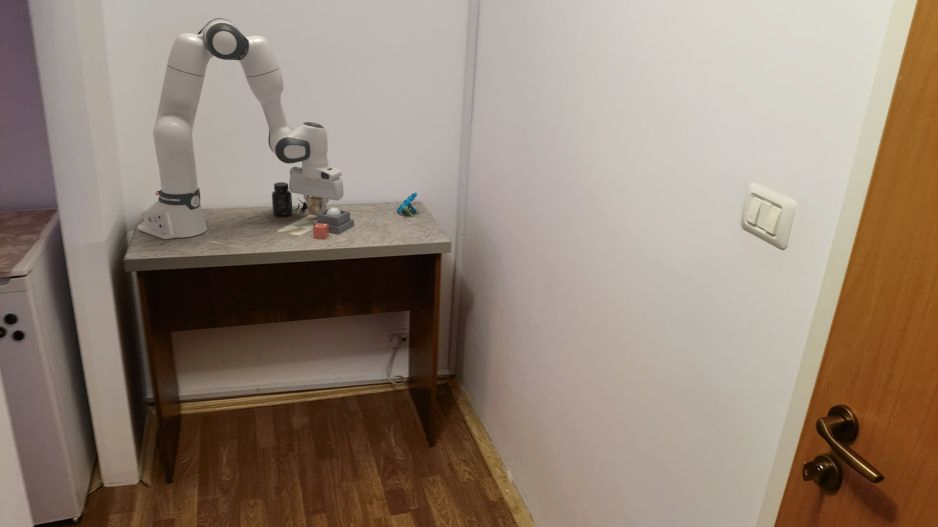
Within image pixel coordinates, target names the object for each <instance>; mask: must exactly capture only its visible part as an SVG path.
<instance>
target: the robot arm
mask: <svg viewBox="0 0 938 527" xmlns="http://www.w3.org/2000/svg"><path fill="white" fill-rule="evenodd" d="M214 57H215V58H217V59H218V60H219V59H220V60H223V61H224V60H227V61H238V62H239V63H240V65H241V67H242V71H243V73H244V76H245V78H246V81H247V84H248V86H249V88H250V90H251V92H252V93H253V96H254V97H255V99H256V100H257V101H258V102H259V104H260V106H261V108H262V110H263V115H264V116H265V119H266V123H267V126H268V140H267V141H268V142H267V144H268V146H269V148H270V150H271V152H273V154H274V155H275V156H276V157H277V159H278V160H279V161H280V162H282V163H284V164H295V163H300V162H301V166H300V167H298V166H293V167H291V168H290V170H289V184H288V188H289V189H288V190H289V191H290V192H291V194H292V193H293V194H297V195H298V194H299V195H303V199H304V202H306V204H307V207H309V206H308V198H310V197H312V196H314V197H319V198H322V201H324V202H323V204H321V205H320V209H321V210H327V204H328V202H329V201H330V200H332V201H336V202H337V201H340V200H341V199H342V198H343V197H344V184H343V180H342V178H341V177H342V170H340V169H338V168H336V167H334V166H333V165H331V164H329V159H328V155H327V154H328V150H329V145H328V144H329V142H328V133H327V130H326V129H325V127H324V126H323V125H321V124H319V123H316V122H311V121H310V122H309V121H308V122H306V121H305V122H303V123H301V125H299V126H297V128H295V129H292V128H291V127H290V126H289V123H288V122H287V119H286V115H285V113H284V112H285V111H284V110H283V109H284V108H283V106H282V101H281V100H282V99H281V98H282V97H281V96H282V93H283V91H284V86H285V85H284V79H283V74H282V70H281V67H280V65H279V62H278V59H277V57H276V55H275V52H274V50H273V47H272V46H271V44H270V43H269V40H268V39H267V38H266V37H264V36H263V35H262V36H261V35H258V34H256V35H255V34H253V35H249V36H248V35H247V36H245V35H244V34H242V32H241V31H240V30H239V28H238V26H236V25H235V23H234V22H232V21H230V20H229V19H226V18H221V17H219V18H218V17H217V18H214V19H211V20H210V21H208V22H207V23H206V24H205V25H204V26H203V27H202V28H201V29H200V30H199V31H198V32H197V34H196V33H192V32H182V33H180V34H178V35H177V36H176V37H175V39H174V42H173V44H172V47H171V49H170V52H169V56H168V59H167V63H166V68H165V74H164V78H163V84H162V88H161V94H160V98H159V104H158V108H157V115H156V118H155V119H156V120H155V123H154V127H153V130H152V135H153V136H152V137H153V141H154V142H153V144H154V148H155V149H154V150H155V154H156V159H157V164H158V171H159V180H160V187H161V189H160V190H158V191H155V192H154V193H155V196H158V199H157V201H156V202H155V203H153V204H152V205H151V206H149V207H148V208H147V209H146V210H145V211H144V215H143V217H144V218H143V220H144V221H143V222H142V223H139V224H138V226H137V227H136V228H137V230H138V231H140V232H142V233H143V232H144V233H145V234H148V235H151V236H154V237H156V238H160V239H162V240H170V239H176V238H178V239H179V238H189V237H195V236H199V235H202V234H204V233H205V232H206V231H208V227H207V222H206V219H205V217H204V214H203V208H202V204H201V191H200V187H199V186H198V185H199V184H198V176H197V175H198V174H197V167H196V166H197V164H196V159H195V157H196V156H195V149H194V143H193V142H194V140H193V130H194V129H193V128H194V124H195V120H196V115H197V111H198V106H199V103H200V99H201V95H202V90H203V85H204V81H205V76H206V70H207V66H208V63H209V62H210V60H211V59H212V58H214Z"/></svg>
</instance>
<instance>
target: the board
mask: <svg viewBox="0 0 938 527" xmlns="http://www.w3.org/2000/svg"><path fill="white" fill-rule="evenodd" d="M316 221H317V216H314V215H309V214H308V215H307V216H305V217H302V218H300V219H298V220H297V221H294V222H292V223H290V224H289V225H286V226H284V227H282V228H280V229H277V232H279V233H283V234H288V235H292V236H298V237H299V236H301V235H304V234H306V233H308V232H309V231H311V230H313V223H314V222H316Z"/></svg>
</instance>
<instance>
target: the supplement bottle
mask: <svg viewBox="0 0 938 527" xmlns="http://www.w3.org/2000/svg"><path fill="white" fill-rule="evenodd" d="M273 190H274V191H272V193H271V202H272V215H273V216H274V217H276V218H288V217H291V216H293V214H294V213H293V212H294V210H293V197H292V196H293V195H292V192H291V191H290V190H289V184H288V182H284V181H282V182H280V181H279V182H276V183H274V184H273Z"/></svg>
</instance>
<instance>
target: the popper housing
mask: <svg viewBox="0 0 938 527" xmlns="http://www.w3.org/2000/svg"><path fill="white" fill-rule="evenodd" d="M330 208H331V207H328V208H326V209H325V211H323V212H321V213H319V214H317V221H316V222H314V223H313V227H314V226H315V225H316V223H322V224H329V234H335V235H340V234H342V233H344V232H346V231H347V230H349V229H351V228H353V227H354V226H355V219H353V218H351V211H350V210H349V211H348V210H344V209H339V210H340V212H341V215H339V216H337V217H334V216H329V215H326V214H327V211H328V210H329V209H330Z"/></svg>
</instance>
